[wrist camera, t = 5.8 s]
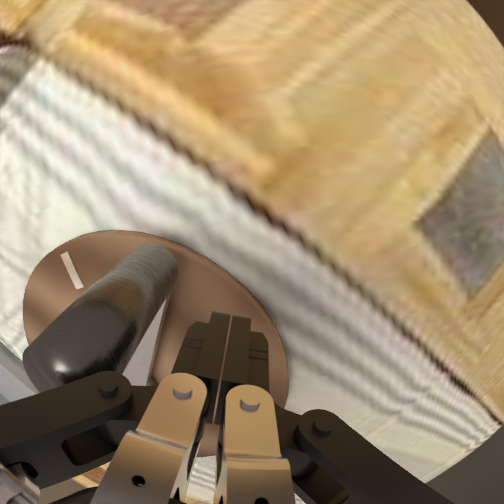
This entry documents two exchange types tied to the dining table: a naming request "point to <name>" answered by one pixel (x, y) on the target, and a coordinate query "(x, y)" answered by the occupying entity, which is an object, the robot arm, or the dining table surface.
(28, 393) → the tray
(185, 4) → the dining table surface
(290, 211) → the dining table surface
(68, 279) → the crank base
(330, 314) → the dining table surface
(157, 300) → the crank
